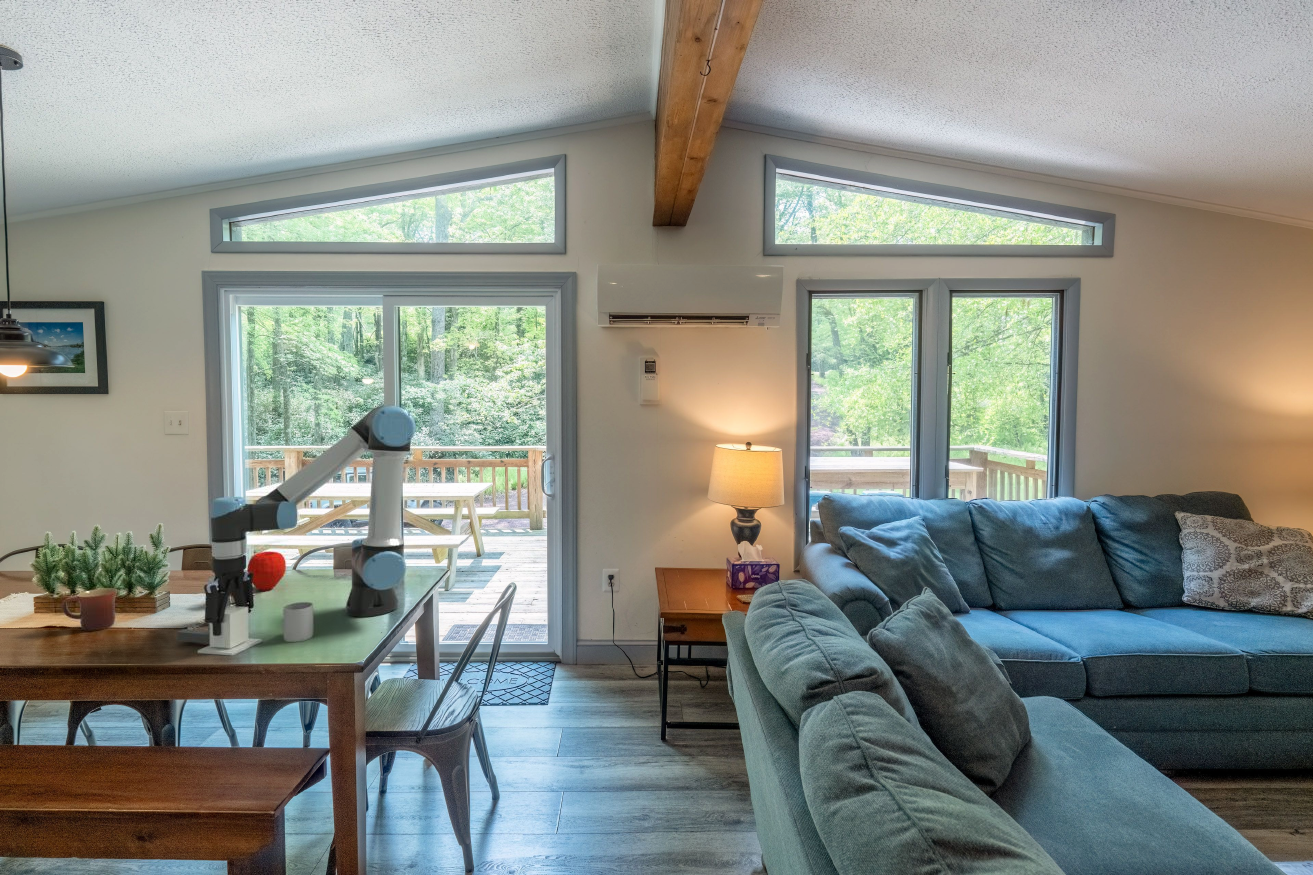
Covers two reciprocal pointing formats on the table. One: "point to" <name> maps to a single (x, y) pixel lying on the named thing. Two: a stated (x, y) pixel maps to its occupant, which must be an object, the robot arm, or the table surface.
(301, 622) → the cup
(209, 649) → the pad
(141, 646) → the table surface
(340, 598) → the table surface
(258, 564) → the apple
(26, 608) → the table surface
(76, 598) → the mug
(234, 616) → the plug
